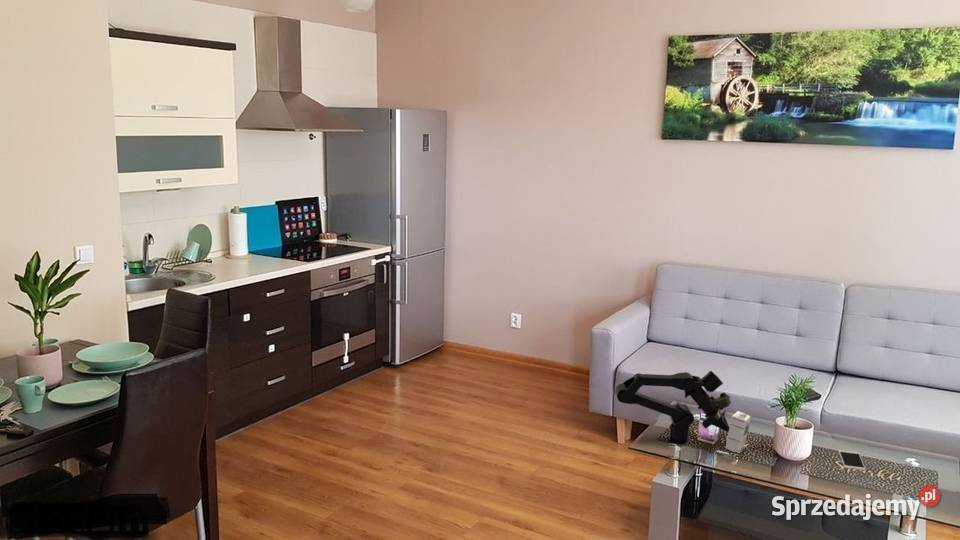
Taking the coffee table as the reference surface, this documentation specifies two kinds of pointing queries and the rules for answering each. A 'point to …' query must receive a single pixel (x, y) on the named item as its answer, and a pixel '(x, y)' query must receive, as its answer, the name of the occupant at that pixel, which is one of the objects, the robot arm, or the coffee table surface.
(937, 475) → the coffee table surface
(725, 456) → the traps
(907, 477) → the coffee table surface
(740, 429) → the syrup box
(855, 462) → the smartphone
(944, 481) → the coffee table surface
